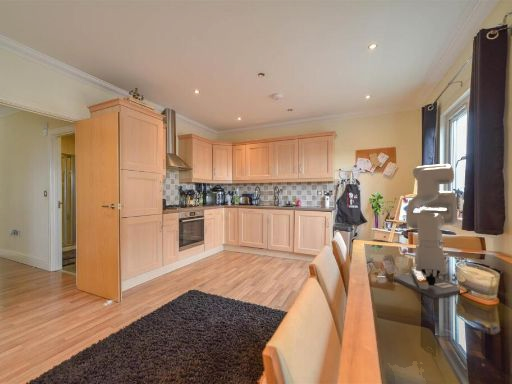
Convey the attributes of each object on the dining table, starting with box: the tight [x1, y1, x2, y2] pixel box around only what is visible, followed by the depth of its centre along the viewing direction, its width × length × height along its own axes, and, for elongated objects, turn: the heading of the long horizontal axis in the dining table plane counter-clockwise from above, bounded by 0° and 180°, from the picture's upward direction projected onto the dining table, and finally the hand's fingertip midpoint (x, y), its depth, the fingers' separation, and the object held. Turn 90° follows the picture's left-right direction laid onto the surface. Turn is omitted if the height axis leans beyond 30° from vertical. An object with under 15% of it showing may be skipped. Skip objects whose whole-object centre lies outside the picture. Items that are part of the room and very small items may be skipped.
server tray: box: [393, 272, 460, 299], centre depth 105 cm, size 18×21×2 cm
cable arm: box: [410, 265, 428, 289], centre depth 106 cm, size 22×4×3 cm, turn 153°
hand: (430, 284), depth 100 cm, fingers closed
